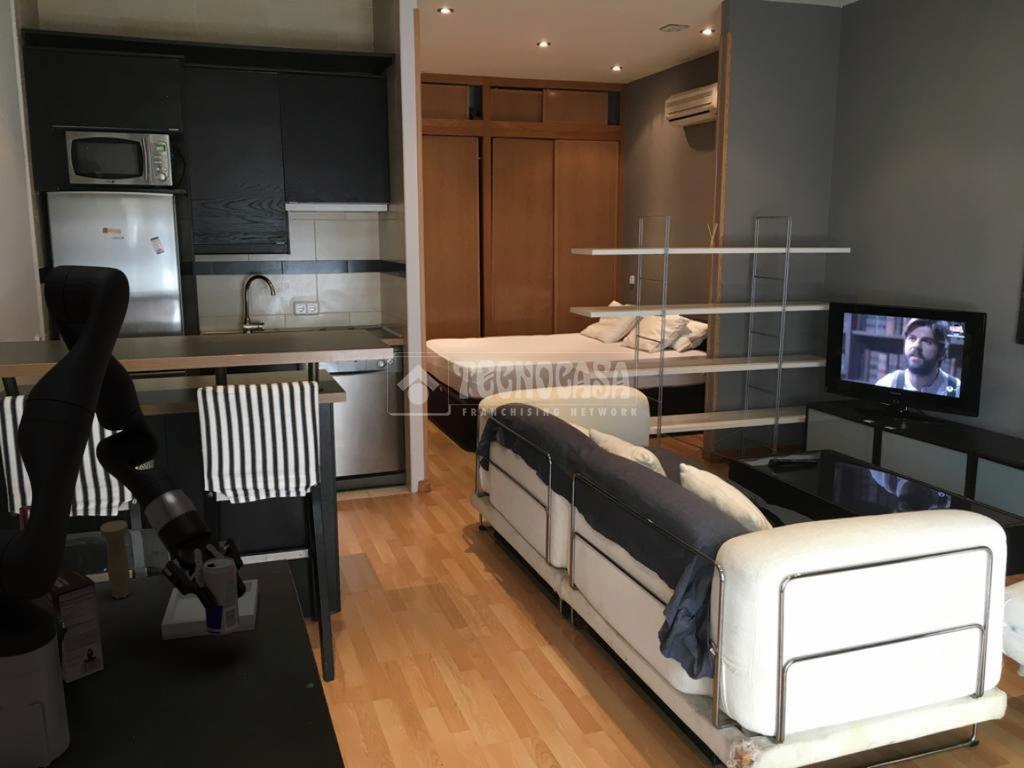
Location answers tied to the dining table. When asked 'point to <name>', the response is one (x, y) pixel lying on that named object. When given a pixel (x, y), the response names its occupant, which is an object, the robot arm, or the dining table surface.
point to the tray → (190, 615)
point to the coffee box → (77, 624)
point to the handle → (117, 557)
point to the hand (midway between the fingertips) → (228, 601)
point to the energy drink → (222, 595)
